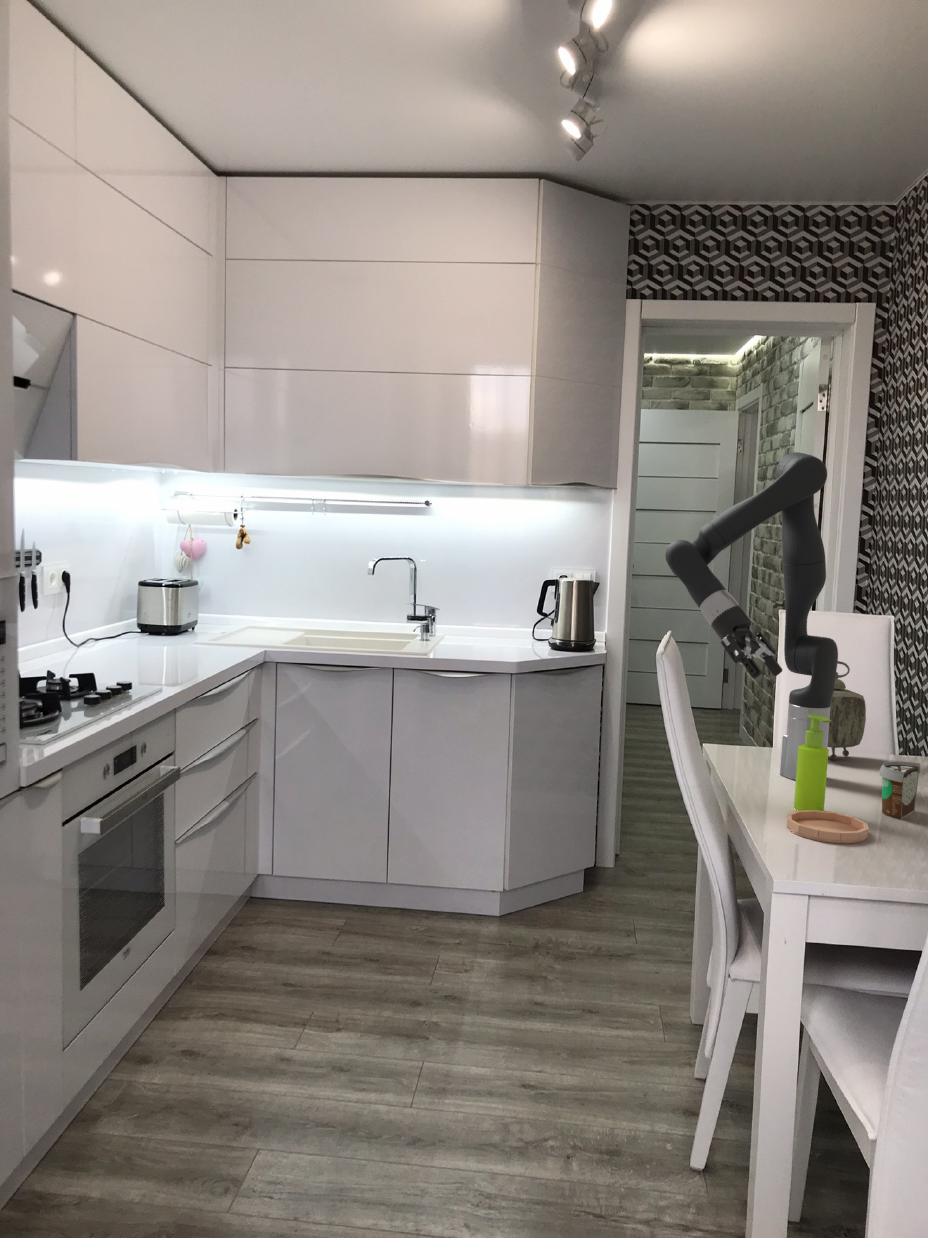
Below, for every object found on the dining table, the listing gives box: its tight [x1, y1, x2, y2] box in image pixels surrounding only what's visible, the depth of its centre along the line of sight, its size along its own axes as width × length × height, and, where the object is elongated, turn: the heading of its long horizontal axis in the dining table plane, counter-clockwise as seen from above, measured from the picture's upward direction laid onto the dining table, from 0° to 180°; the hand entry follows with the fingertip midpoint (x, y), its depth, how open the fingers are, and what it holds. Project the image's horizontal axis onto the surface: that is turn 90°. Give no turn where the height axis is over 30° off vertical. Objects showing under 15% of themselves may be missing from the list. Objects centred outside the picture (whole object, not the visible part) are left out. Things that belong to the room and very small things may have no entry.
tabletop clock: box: [827, 660, 867, 762], centre depth 260 cm, size 14×9×25 cm, turn 94°
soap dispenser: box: [793, 714, 831, 811], centre depth 210 cm, size 6×7×20 cm
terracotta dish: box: [786, 810, 870, 844], centre depth 197 cm, size 15×15×2 cm
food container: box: [878, 760, 921, 821], centre depth 213 cm, size 12×6×10 cm, turn 141°
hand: (768, 674), depth 217 cm, fingers open, 8 cm apart
